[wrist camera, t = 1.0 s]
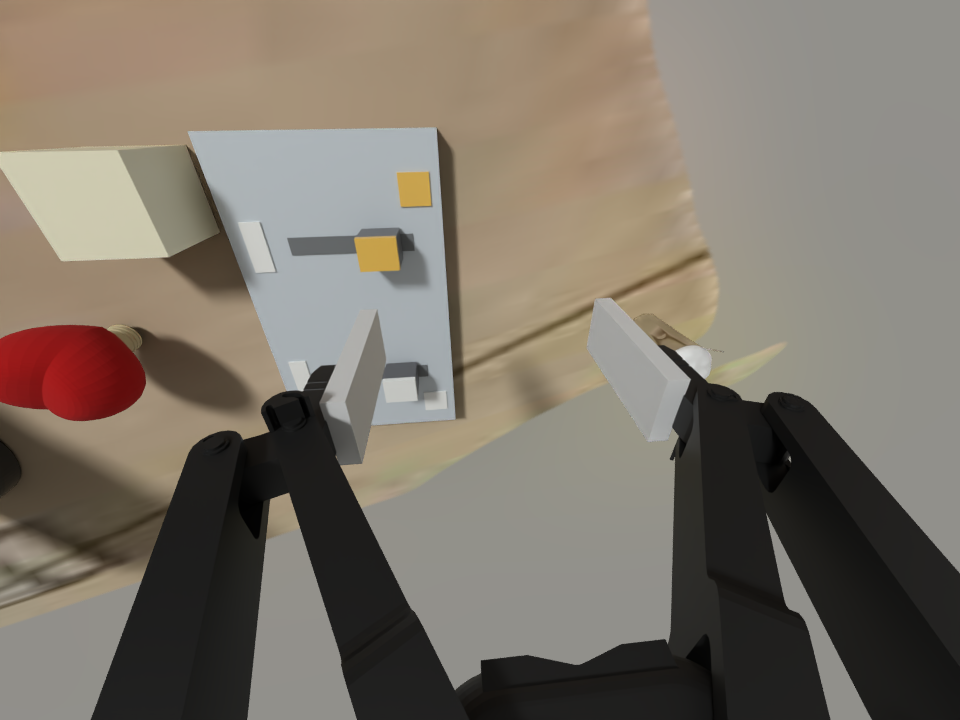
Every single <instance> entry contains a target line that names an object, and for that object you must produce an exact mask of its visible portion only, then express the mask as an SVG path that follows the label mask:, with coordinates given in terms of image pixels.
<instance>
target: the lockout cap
mask: <svg viewBox="0 0 960 720" xmlns="http://www.w3.org/2000/svg"><path fill="white" fill-rule="evenodd" d="M0 168H1V169H2V171H3V172H4V174H5V175H6V177H7V178H8V180H9V181H10V183H11V184H12V186H13V188H14V189H15V191H16V192H17V194H18V195H19V197H20V198H21V200H22V201H23V203H24V204H25V206H26V208H27V209H28V211H29V212H30V214H31V215H32V217H33V218H34V220H35V221H36V223H37V224H38V226H39V227H40V229H41V231H42V232H43V234H44V235H45V237H46V238H47V240H48V241H49V243H50V244H51V246H52V247H53V249H54V251H55V252H56V254H57V255H58V257H59V258H60V260H61V261H82V260H108V259H135V258H161V257H171V256H173V255H175V254H177V253H179V252H181V251H183V250H185V249H187V248H189V247H191V246H193V245H195V244H197V243H199V242H201V241H203V240H206V239H208V238H210V237H212V236H214V235H216V234H218V233H220V231H219V228H218V226H217V223H216V221H215V218H214V216H213V213H212V211H211V208H210V205H209V203H208V200H207V198H206V195H205V193H204V190H203V188H202V185H201V182H200V180H199V177H198V175H197V172H196V170H195V167H194V165H193V162H192V159H191V157H190V154H189V152H188V149H187V147H186V145H151V146H94V147H73V148H57V149H40V150H24V151H8V152H0Z"/></svg>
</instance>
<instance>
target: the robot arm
mask: <svg viewBox="0 0 960 720" xmlns="http://www.w3.org/2000/svg"><path fill="white" fill-rule="evenodd" d="M587 350H588V351H589V353H590V354H591V356H592V357H593V359H594V360H595V362H596V363H597V365H598V366H599V368H600V370H601V371H602V373H603V374H604V376H605V377H606V379H607V380H608V382H609V383H610V385H611V386H612V388H613V389H614V391H615V392H616V394H617V396H618V397H619V399H620V400H621V402H622V403H623V405H624V406H625V408H626V409H627V411H628V413H629V414H630V416H631V417H632V419H633V420H634V422H635V423H636V425H637V426H638V428H639V429H640V431H641V432H642V434H643V436H644V437H645V439H646V440H647V442H651V441H665V440H668V438H669V435H670V433H671V430H672V428H673V429H674V430H675V432H676V433H677V434H678V435H679V438H678V440H677V443H676V445H675V447H674V450H673V453H672V455H671V457H670V460H673V459H674V457H675V488H674V526H673V566H672V604H671V632H670V638H669V642H668V644H667V642H666V640H665V639H663V640H654V641H645V642H637V643H628V644H621V645H619V646H617V647H615V648H613V649H611V650H609V651H607V652H605V653H603V654H601V655H599V656H597V657H595V658H593V659H591V660H589V661H587V662H585V663H583V664H580V665H573V664H568V663H563V662H558V661H553V660H548V659H544V658H539V657H534V656H529V655H524V656H516V657H507V658H498V659H490V660H481V674H479V675H477V676H475V677H473V678H471V679H469V680H468V681H466V682H465V683H464V684H462V685H460V687H458V688H457V689H456V690H454V688H453V686H452V684H451V682H450V680H449V678H448V676H447V674H446V672H445V670H444V668H443V666H442V664H441V662H440V660H439V658H438V656H437V654H436V652H435V650H434V648H433V646H432V644H431V642H430V640H429V638H428V636H427V634H426V632H425V630H424V628H423V626H422V624H421V622H420V620H419V619H418V617H417V615H416V614H415V612H414V611H413V610H411V608H410V606H409V604H408V603H407V601H406V599H405V597H404V595H403V593H402V591H401V588H400V587H399V584H398V583H397V580H396V578H395V576H394V574H393V572H392V570H391V568H390V566H389V564H388V562H387V560H386V558H385V556H384V554H383V552H382V550H381V548H380V546H379V544H378V542H377V540H376V538H375V536H374V534H373V532H372V530H371V527H370V526H369V524H368V521H367V519H366V517H365V515H364V513H363V511H362V509H361V507H360V505H359V503H358V501H357V499H356V497H355V495H354V493H353V491H352V489H351V487H350V485H349V483H348V481H347V479H346V477H345V475H344V473H343V471H342V469H341V467H340V465H350V464H362V462H363V458H364V454H365V449H366V445H367V441H368V436H369V432H370V428H371V424H372V419H373V415H374V411H375V406H376V402H377V398H378V394H379V389H380V385H381V381H382V377H383V372H384V368H385V364H386V354H385V349H384V343H383V338H382V332H381V327H380V321H379V316H378V310H377V309H367V310H360V312H359V314H358V316H357V318H356V321H355V323H354V325H353V327H352V330H351V332H350V334H349V337H348V339H347V341H346V343H345V346H344V348H343V350H342V353H341V355H340V357H339V359H338V362H337V364H336V365H322V366H320V367H319V368H317V369H316V370H315V371H314V372H313V373H312V374H311V376H310V377H309V379H308V381H307V384H306V385H305V387H304V389H303V390H304V391H299V390H293V391H286V392H282V393H279V394H277V395H275V396H273V397H271V398H270V399H269V400H267V401H266V402H265V403H264V405H263V406H262V407H261V414H262V416H263V418H264V420H265V423H266V425H267V427H268V429H269V431H270V432H268V433H265V434H262V435H259V436H255V437H252V438H248V439H245V440H243V439H242V437H241V435H240V434H238V433H237V432H235V431H221V432H217V433H214V434H211V435H209V436H207V437H205V438H203V439H202V440H200V441H199V442H198V443H197V444H195V445H194V446H193V447H192V449H191V450H190V452H189V454H188V456H187V459H186V462H185V465H184V467H183V470H182V473H181V476H180V478H179V481H178V484H177V486H176V489H175V492H174V495H173V497H172V500H171V503H170V505H169V508H168V511H167V514H166V516H165V519H164V522H163V525H162V527H161V530H160V533H159V535H158V538H157V541H156V544H155V546H154V549H153V552H152V555H151V557H150V560H149V563H148V565H147V568H146V571H145V574H144V576H143V579H142V582H141V585H140V587H139V590H138V593H137V595H136V598H135V601H134V604H133V606H132V609H131V612H130V614H129V617H128V620H127V623H126V626H125V628H124V631H123V633H122V636H121V639H120V642H119V644H118V647H117V650H116V653H115V655H114V658H113V661H112V664H111V666H110V669H109V672H108V674H107V677H106V680H105V683H104V685H103V688H102V691H101V693H100V696H99V699H98V702H97V704H96V707H95V710H94V713H93V715H92V718H91V720H247V717H248V707H249V697H250V688H251V678H252V668H253V658H254V649H255V638H256V630H257V620H258V610H259V601H260V591H261V581H262V572H263V562H264V552H265V543H266V533H267V524H268V514H269V504H270V499H272V498H275V497H277V496H280V495H283V494H286V493H289V494H290V497H291V500H292V503H293V507H294V510H295V513H296V516H297V519H298V522H299V526H300V529H301V532H302V535H303V538H304V541H305V545H306V548H307V551H308V554H309V557H310V560H311V564H312V567H313V570H314V573H315V576H316V579H317V583H318V586H319V589H320V592H321V595H322V598H323V602H324V605H325V608H326V611H327V614H328V617H329V621H330V623H331V627H332V630H333V633H334V636H335V639H336V643H337V646H338V649H339V652H340V656H341V666H342V670H343V675H344V678H345V682H346V685H347V689H348V692H349V695H350V698H351V702H352V705H353V708H354V711H355V714H356V718H357V720H830V716H829V712H828V708H827V704H826V700H825V696H824V692H823V688H822V684H821V680H820V676H819V672H818V668H817V663H816V659H815V655H814V651H813V647H812V643H811V639H810V635H809V631H808V628H807V626H806V623H805V621H804V619H803V618H802V617H801V615H800V614H799V613H797V612H794V611H792V610H789V609H788V607H787V606H786V604H785V601H784V597H783V592H782V587H781V583H780V578H779V573H778V568H777V564H776V559H775V554H774V550H773V544H772V540H771V535H770V530H769V526H768V521H767V516H766V513H767V515H768V517H769V519H770V521H771V523H772V525H773V527H774V529H775V531H776V533H777V535H778V537H779V539H780V541H781V543H782V545H783V547H784V548H785V551H786V553H787V555H788V556H789V558H790V560H791V562H792V564H793V566H794V568H795V570H796V572H797V574H798V576H799V578H800V580H801V582H802V584H803V586H804V588H805V590H806V592H807V594H808V596H809V598H810V599H811V602H812V604H813V605H814V607H815V609H816V611H817V613H818V615H819V617H820V619H821V621H822V623H823V625H824V627H825V629H826V631H827V633H828V635H829V637H830V639H831V641H832V643H833V645H834V647H835V649H836V650H837V652H838V655H839V656H840V658H841V660H842V662H843V664H844V666H845V668H846V670H847V672H848V674H849V676H850V678H851V680H852V682H853V684H854V686H855V688H856V690H857V692H858V694H859V696H860V698H861V700H862V702H863V703H864V706H865V707H866V709H867V711H868V713H869V715H870V717H871V719H872V720H960V573H959V572H958V571H957V570H956V569H955V567H954V566H953V565H952V564H951V563H950V562H949V561H948V559H947V558H946V557H945V556H944V555H943V554H942V552H941V551H940V550H939V549H938V548H937V547H936V546H935V544H934V543H933V542H932V541H931V540H930V539H929V538H928V536H927V535H926V534H925V533H924V532H923V531H922V530H921V529H920V527H919V526H918V525H917V524H916V523H915V522H914V520H913V519H912V518H911V517H910V516H909V515H908V513H907V512H906V511H905V510H904V509H903V508H902V507H901V505H900V504H899V503H898V502H897V501H896V500H895V499H894V497H893V496H892V495H891V494H890V493H889V492H888V491H887V489H886V488H885V487H884V486H883V485H882V484H881V482H880V481H879V480H878V479H877V478H876V477H875V476H874V474H873V473H872V472H871V471H870V470H869V469H868V468H867V466H866V465H865V464H864V463H863V462H862V461H861V459H860V458H859V457H858V456H857V455H856V454H855V453H854V451H853V450H852V449H851V448H850V447H849V446H848V445H847V443H846V442H845V441H844V440H843V439H842V438H841V437H840V435H839V434H838V433H837V432H836V431H835V430H834V429H833V427H832V426H831V425H830V424H829V423H828V422H827V421H826V419H825V418H824V417H823V416H822V415H821V414H820V412H818V410H817V409H816V408H815V407H814V406H813V405H812V404H811V403H809V402H808V401H806V400H804V399H802V398H801V397H799V396H795V395H794V394H789V393H783V392H773V393H771V394H769V395H768V397H767V399H766V400H765V402H764V403H759V402H752V401H744V400H742V399H741V397H740V396H739V395H738V394H737V393H736V392H735V391H733V390H731V389H729V388H727V387H725V386H722V385H718V384H711V383H708V382H707V381H706V380H705V379H704V378H703V377H702V376H701V375H700V374H698V373H697V372H696V371H695V370H694V369H693V368H692V367H691V366H689V364H688V363H687V362H686V361H685V360H683V358H682V357H681V356H680V355H679V354H678V353H677V352H676V351H674V350H672V349H670V348H669V347H667V346H665V345H656V343H655V342H654V341H653V340H652V339H651V338H650V337H649V336H648V335H647V334H646V333H645V332H644V331H643V330H642V329H641V328H640V327H639V326H638V325H637V324H636V323H635V322H634V321H633V320H632V319H631V318H630V317H629V316H628V315H627V314H626V313H625V312H624V311H623V310H622V309H621V308H620V307H619V306H618V305H617V304H616V303H615V302H614V301H613V300H612V299H611V298H599V299H595V303H594V309H593V315H592V320H591V326H590V332H589V337H588V343H587ZM336 456H337V458H336ZM789 456H790V457H791V462H790V461H789V460H788V458H789ZM337 459H338V460H337ZM20 474H21V472H20V466H19V464H18V462H17V460H16V458H15V457H14V455H13V454H12V453H11V452H10V450H9V449H8V448H7V447H6V446H5V445H3V444H2V443H1V442H0V498H1V497H2V496H3V495H4V494H6V493H7V492H8V491H9V490H10V489H12V488H13V487H14V486H15V485H16V484H17V483H18V481H19V479H20Z"/></svg>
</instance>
